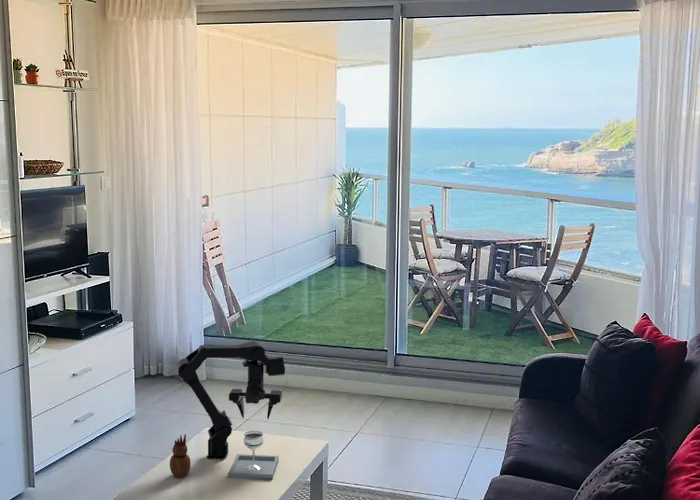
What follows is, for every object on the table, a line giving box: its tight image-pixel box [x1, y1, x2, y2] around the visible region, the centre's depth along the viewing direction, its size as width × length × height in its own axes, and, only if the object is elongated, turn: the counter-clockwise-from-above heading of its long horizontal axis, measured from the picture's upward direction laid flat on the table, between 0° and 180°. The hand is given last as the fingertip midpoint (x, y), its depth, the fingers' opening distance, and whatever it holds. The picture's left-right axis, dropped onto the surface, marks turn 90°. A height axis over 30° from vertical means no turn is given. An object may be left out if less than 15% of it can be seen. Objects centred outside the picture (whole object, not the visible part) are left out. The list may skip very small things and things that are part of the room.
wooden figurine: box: [169, 433, 191, 479], centre depth 259 cm, size 7×6×15 cm
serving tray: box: [227, 453, 280, 480], centre depth 266 cm, size 15×15×2 cm
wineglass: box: [243, 430, 264, 470], centre depth 265 cm, size 7×7×12 cm
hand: (255, 418), depth 278 cm, fingers open, 9 cm apart
